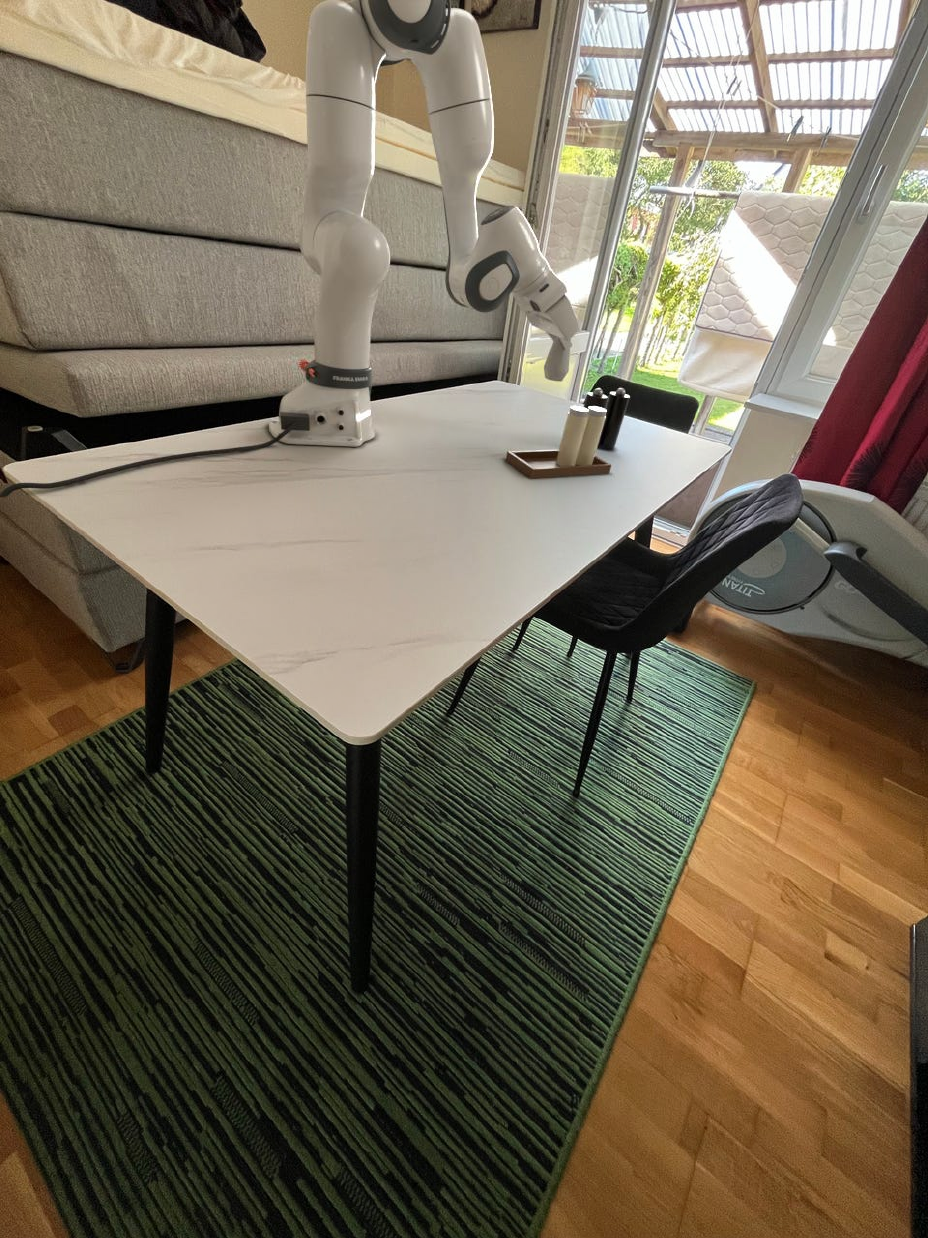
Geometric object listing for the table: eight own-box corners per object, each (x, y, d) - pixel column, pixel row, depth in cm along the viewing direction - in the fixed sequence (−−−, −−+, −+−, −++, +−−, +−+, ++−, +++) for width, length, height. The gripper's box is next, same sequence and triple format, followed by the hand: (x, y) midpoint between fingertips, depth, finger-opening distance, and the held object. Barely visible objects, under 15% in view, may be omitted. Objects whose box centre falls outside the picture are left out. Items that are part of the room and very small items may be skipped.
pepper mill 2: (603, 450, 131) (621, 390, 123) (590, 443, 135) (607, 384, 126) (617, 450, 133) (636, 391, 125) (605, 443, 137) (622, 385, 128)
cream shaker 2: (580, 467, 117) (596, 411, 110) (569, 460, 120) (583, 405, 113) (595, 466, 119) (611, 411, 112) (584, 459, 122) (599, 405, 115)
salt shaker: (565, 379, 124) (580, 317, 116) (566, 383, 119) (582, 320, 112) (541, 374, 124) (554, 312, 116) (542, 379, 119) (556, 315, 112)
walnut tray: (530, 478, 108) (533, 469, 107) (505, 459, 115) (507, 451, 114) (608, 473, 118) (611, 465, 116) (580, 456, 125) (583, 448, 124)
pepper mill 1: (580, 453, 127) (597, 391, 119) (568, 446, 130) (584, 385, 122) (596, 452, 129) (614, 391, 121) (584, 445, 133) (600, 385, 124)
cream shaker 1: (563, 468, 115) (577, 411, 107) (551, 461, 118) (565, 405, 110) (578, 467, 117) (594, 411, 109) (567, 460, 120) (581, 405, 112)
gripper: (506, 293, 117) (535, 346, 126) (542, 307, 102) (572, 365, 111) (528, 273, 116) (555, 327, 125) (568, 284, 101) (596, 345, 110)
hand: (564, 345), depth 118 cm, fingers closed on salt shaker, 3 cm apart
